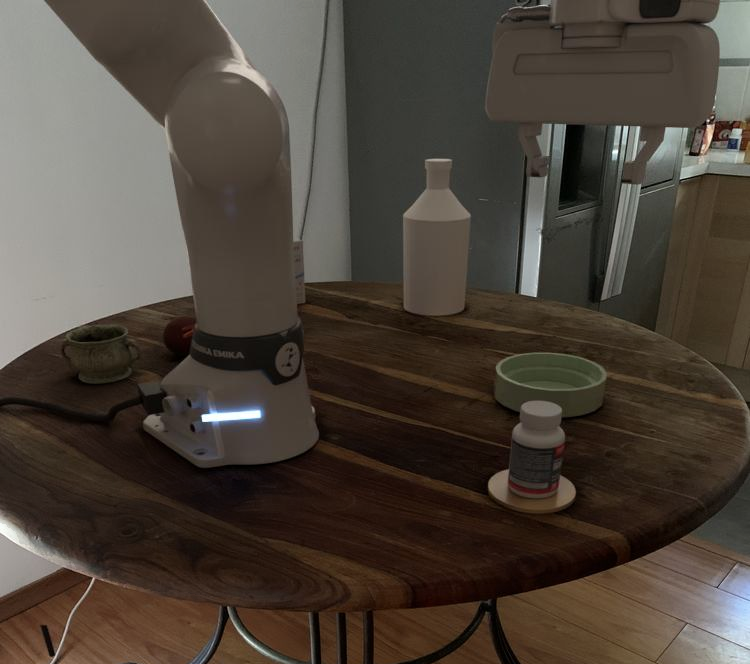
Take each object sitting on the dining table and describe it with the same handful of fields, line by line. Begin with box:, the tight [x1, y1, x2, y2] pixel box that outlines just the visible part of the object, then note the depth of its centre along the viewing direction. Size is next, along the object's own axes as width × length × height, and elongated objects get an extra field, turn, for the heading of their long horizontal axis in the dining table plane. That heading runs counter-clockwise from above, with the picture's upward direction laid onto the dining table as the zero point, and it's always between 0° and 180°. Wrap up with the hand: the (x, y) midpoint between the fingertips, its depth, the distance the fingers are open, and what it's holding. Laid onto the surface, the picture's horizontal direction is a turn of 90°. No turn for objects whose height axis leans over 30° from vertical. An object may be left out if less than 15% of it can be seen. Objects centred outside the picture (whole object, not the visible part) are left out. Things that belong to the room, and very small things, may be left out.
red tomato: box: [162, 315, 197, 358], centre depth 113 cm, size 8×9×6 cm
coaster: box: [487, 468, 577, 515], centre depth 76 cm, size 9×9×1 cm
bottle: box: [402, 158, 472, 317], centre depth 131 cm, size 12×12×25 cm
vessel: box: [59, 323, 143, 385], centre depth 106 cm, size 12×9×6 cm
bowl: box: [493, 352, 608, 418], centre depth 97 cm, size 14×14×4 cm
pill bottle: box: [507, 401, 566, 499], centre depth 74 cm, size 5×5×9 cm
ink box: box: [293, 235, 306, 305], centre depth 137 cm, size 9×5×12 cm, turn 117°
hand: (582, 180), depth 68 cm, fingers open, 8 cm apart
